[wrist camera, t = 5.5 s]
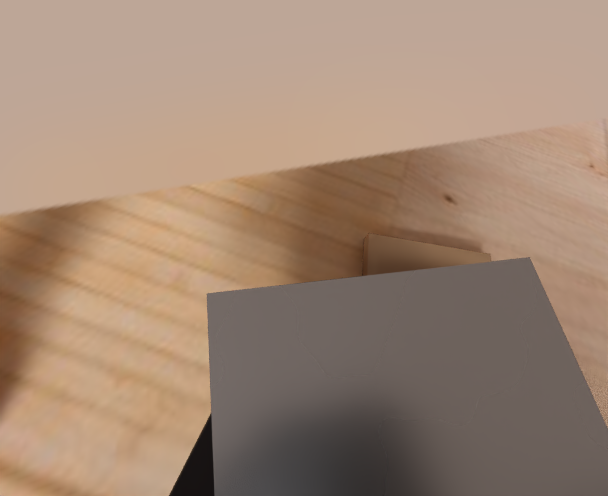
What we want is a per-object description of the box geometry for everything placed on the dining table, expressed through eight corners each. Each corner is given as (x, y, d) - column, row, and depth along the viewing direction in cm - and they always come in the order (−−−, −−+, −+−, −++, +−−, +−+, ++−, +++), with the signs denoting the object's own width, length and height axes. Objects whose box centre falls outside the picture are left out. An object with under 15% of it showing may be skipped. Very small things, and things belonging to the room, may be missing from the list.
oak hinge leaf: (506, 480, 20) (571, 507, 16) (353, 463, 19) (380, 487, 15) (480, 259, 26) (521, 237, 22) (363, 239, 25) (384, 212, 21)
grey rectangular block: (372, 483, 13) (814, 883, 3) (255, 513, 12) (246, 1284, 2) (344, 340, 15) (529, 257, 5) (243, 355, 14) (206, 293, 4)
